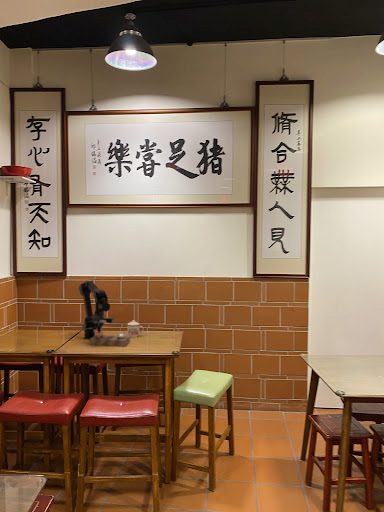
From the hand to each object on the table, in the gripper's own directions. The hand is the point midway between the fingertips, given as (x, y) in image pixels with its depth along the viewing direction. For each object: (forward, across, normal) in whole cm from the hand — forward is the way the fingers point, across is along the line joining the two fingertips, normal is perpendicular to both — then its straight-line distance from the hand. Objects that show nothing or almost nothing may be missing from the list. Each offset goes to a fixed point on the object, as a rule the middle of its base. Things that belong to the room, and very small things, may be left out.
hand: (99, 332), depth 266 cm
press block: (+7, +8, 0) cm, 10 cm away
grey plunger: (+7, +15, 0) cm, 17 cm away
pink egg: (+6, 0, 0) cm, 6 cm away
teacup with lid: (+8, +18, +24) cm, 31 cm away
